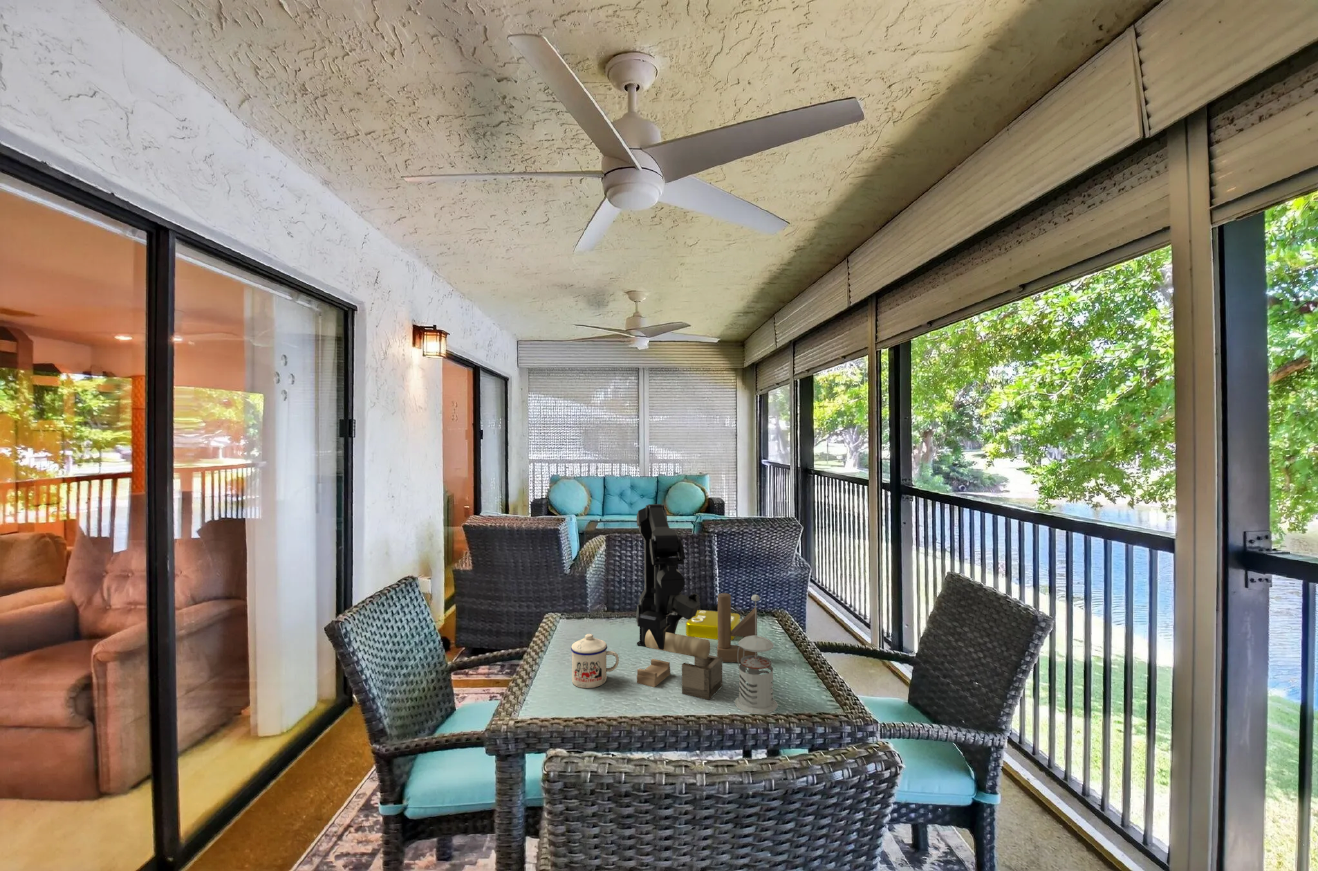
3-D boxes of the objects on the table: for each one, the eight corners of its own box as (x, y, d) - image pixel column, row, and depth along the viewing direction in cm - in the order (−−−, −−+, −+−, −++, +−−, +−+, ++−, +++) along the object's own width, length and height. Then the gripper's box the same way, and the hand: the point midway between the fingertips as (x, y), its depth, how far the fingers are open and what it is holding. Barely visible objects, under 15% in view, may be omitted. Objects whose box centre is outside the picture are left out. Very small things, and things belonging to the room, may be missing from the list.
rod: (644, 649, 141) (644, 631, 142) (653, 644, 145) (653, 627, 145) (703, 661, 134) (703, 642, 134) (710, 655, 138) (710, 637, 138)
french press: (749, 717, 123) (748, 602, 123) (722, 695, 133) (722, 589, 133) (786, 708, 127) (786, 597, 127) (757, 687, 137) (757, 585, 137)
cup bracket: (682, 693, 134) (681, 664, 134) (696, 680, 142) (696, 652, 142) (708, 700, 131) (708, 669, 131) (722, 685, 138) (722, 657, 138)
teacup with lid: (569, 689, 137) (569, 641, 137) (572, 673, 146) (572, 629, 146) (618, 688, 137) (618, 640, 137) (619, 672, 146) (619, 627, 146)
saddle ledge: (636, 682, 140) (636, 670, 140) (653, 670, 147) (653, 658, 148) (654, 687, 138) (654, 674, 138) (670, 674, 145) (670, 661, 145)
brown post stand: (757, 663, 152) (757, 596, 152) (717, 662, 153) (717, 596, 153) (756, 658, 156) (755, 593, 156) (717, 657, 156) (716, 592, 156)
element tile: (732, 642, 169) (732, 626, 169) (684, 637, 173) (684, 621, 173) (741, 626, 183) (741, 612, 183) (696, 622, 187) (696, 607, 187)
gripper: (677, 597, 129) (678, 665, 129) (709, 579, 145) (710, 639, 145) (636, 591, 134) (636, 656, 134) (671, 574, 151) (671, 632, 151)
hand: (665, 646), depth 141 cm, fingers closed on rod, 4 cm apart
